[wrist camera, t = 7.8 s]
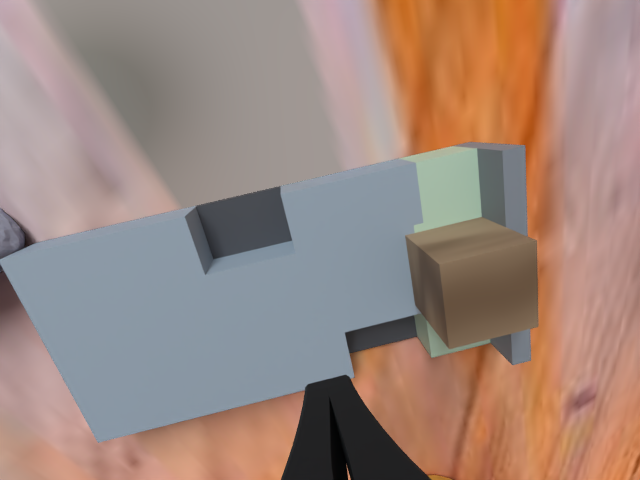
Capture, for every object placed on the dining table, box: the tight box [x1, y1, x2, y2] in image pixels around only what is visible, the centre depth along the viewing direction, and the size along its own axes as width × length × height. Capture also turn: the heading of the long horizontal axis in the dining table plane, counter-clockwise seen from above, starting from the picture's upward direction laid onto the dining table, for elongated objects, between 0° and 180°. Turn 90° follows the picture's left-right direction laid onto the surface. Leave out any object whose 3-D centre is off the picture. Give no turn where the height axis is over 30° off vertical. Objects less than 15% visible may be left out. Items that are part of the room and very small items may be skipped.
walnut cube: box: [405, 217, 538, 349], centre depth 16 cm, size 4×4×4 cm
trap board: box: [0, 142, 531, 443], centre depth 18 cm, size 24×11×4 cm, turn 102°
